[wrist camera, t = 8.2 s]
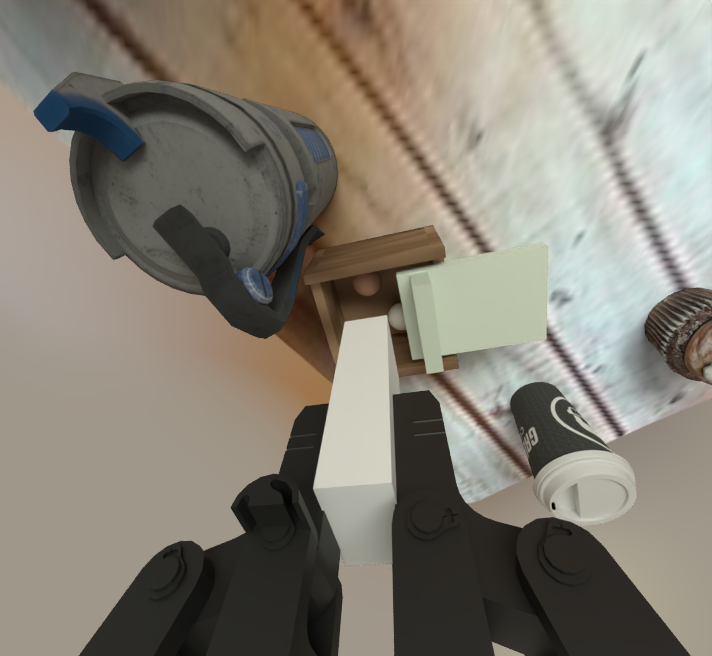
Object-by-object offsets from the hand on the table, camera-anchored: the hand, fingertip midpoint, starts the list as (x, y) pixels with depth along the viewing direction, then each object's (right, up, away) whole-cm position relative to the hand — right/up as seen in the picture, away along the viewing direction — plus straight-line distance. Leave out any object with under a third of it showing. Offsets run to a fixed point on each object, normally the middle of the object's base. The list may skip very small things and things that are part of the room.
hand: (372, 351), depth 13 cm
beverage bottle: (-7, +17, +24) cm, 30 cm away
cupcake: (+37, +2, +28) cm, 47 cm away
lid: (+11, +3, +21) cm, 24 cm away
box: (+3, +5, +29) cm, 30 cm away
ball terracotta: (+1, +6, +26) cm, 27 cm away
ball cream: (+5, +2, +28) cm, 28 cm away
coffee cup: (+24, -9, +35) cm, 43 cm away
